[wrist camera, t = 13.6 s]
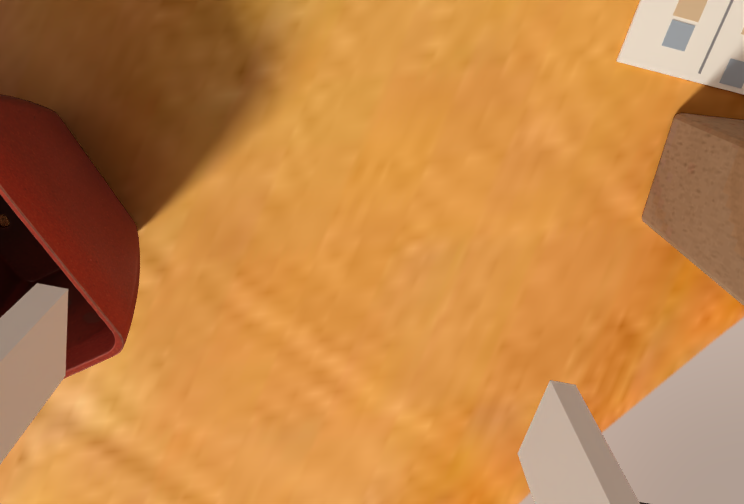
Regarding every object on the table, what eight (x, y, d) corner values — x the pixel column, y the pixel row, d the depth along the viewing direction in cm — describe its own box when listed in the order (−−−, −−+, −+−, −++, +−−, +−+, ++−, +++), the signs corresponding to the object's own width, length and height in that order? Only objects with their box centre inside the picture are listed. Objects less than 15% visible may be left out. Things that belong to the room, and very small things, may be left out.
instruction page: (669, -75, 44) (671, -75, 44) (833, -26, 46) (835, -26, 46) (616, 61, 48) (617, 61, 48) (769, 101, 50) (770, 101, 50)
